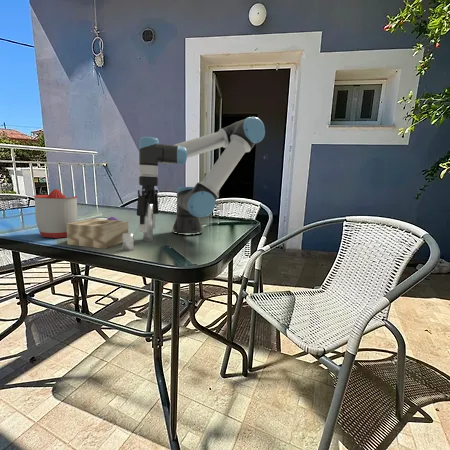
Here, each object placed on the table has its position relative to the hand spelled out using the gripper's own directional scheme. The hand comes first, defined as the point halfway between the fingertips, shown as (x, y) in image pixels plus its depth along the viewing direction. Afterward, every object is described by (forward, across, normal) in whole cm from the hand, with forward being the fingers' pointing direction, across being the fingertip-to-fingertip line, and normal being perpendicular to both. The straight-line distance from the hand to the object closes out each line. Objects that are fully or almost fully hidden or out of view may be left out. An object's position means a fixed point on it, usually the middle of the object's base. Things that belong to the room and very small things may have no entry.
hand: (147, 229), depth 115 cm
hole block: (+5, +10, -16) cm, 19 cm away
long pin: (+5, 0, 0) cm, 5 cm away
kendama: (+5, -11, -28) cm, 30 cm away
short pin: (+5, +16, 0) cm, 17 cm away
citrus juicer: (+5, +6, -38) cm, 39 cm away
